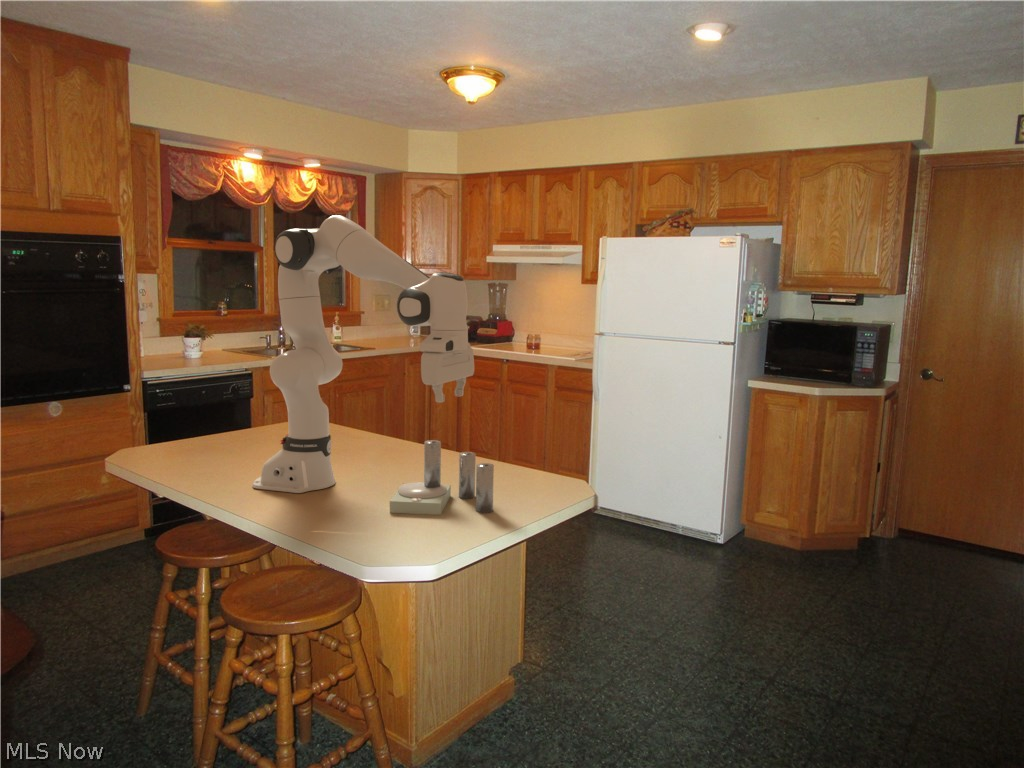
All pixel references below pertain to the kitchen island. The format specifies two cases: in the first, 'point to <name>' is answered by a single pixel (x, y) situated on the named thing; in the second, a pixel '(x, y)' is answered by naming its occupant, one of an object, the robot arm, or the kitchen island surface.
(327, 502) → the kitchen island surface
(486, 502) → the cylinder
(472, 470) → the cylinder
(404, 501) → the scale
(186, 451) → the kitchen island surface
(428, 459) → the cylinder
